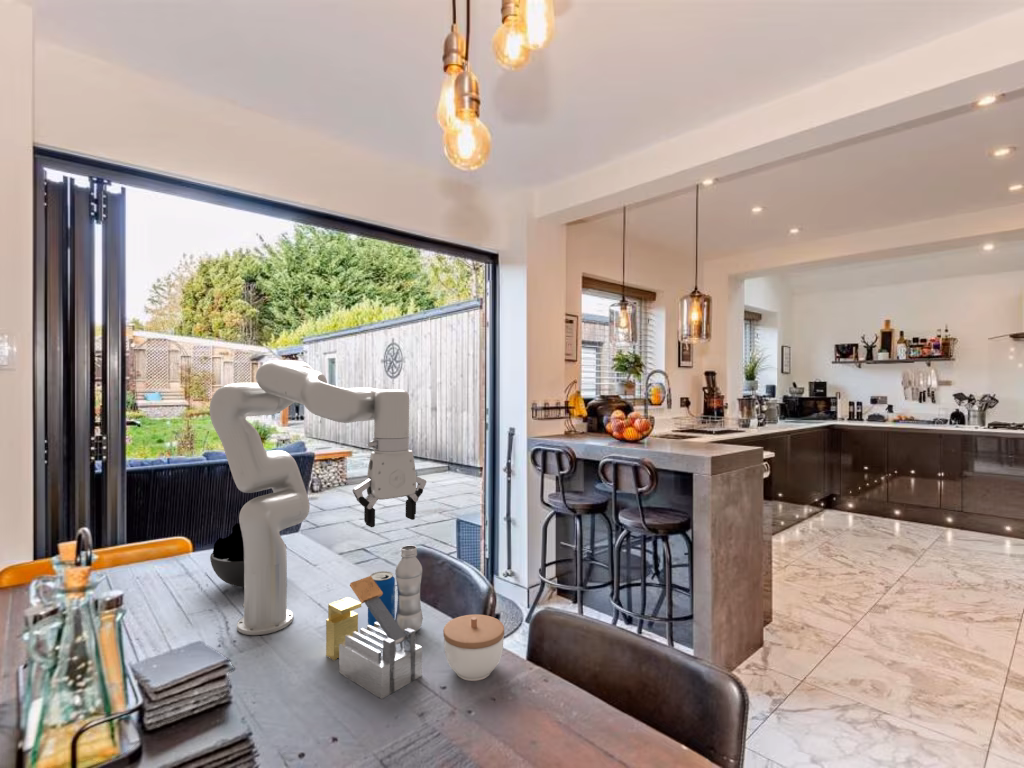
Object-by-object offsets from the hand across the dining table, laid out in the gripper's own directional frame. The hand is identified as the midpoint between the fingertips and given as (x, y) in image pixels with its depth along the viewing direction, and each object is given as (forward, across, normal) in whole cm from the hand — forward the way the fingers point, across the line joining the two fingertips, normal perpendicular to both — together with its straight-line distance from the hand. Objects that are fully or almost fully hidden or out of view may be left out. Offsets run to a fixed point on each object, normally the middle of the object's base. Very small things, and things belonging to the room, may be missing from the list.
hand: (390, 522), depth 117 cm
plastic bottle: (+29, +8, +6) cm, 31 cm away
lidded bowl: (+29, +10, -18) cm, 36 cm away
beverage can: (+29, +4, +13) cm, 32 cm away
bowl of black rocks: (+30, -14, +60) cm, 69 cm away
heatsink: (+29, -6, -7) cm, 30 cm away
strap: (+16, -6, -7) cm, 19 cm away
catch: (+29, -8, +6) cm, 31 cm away
